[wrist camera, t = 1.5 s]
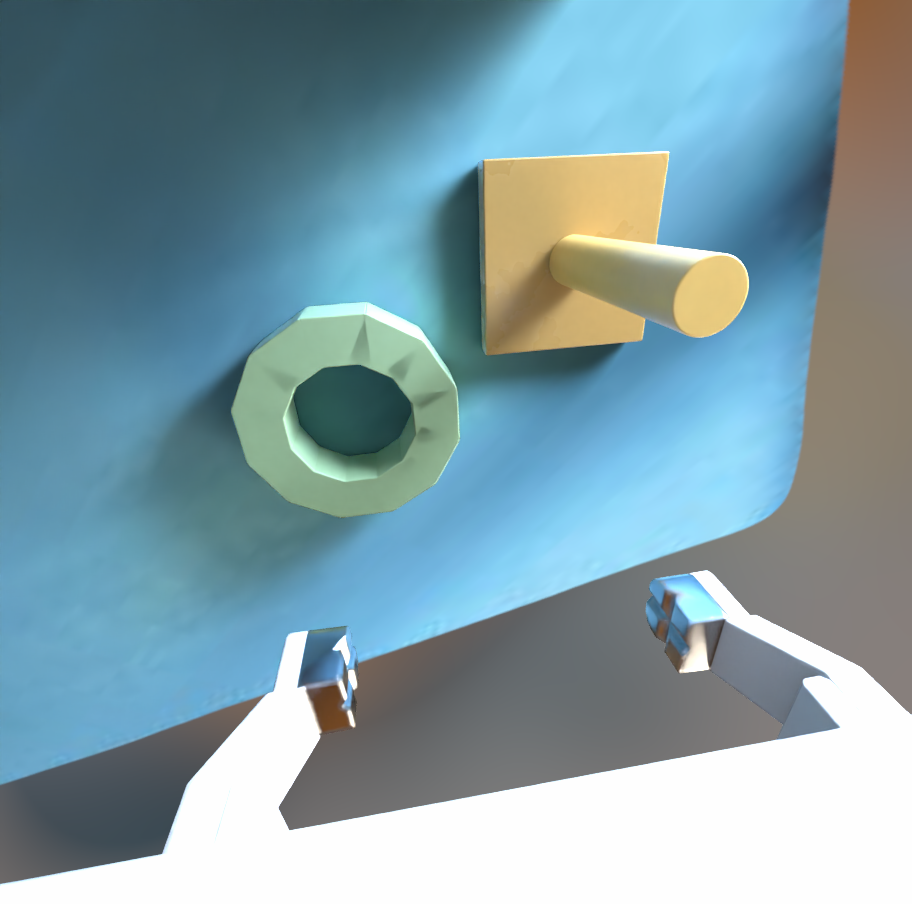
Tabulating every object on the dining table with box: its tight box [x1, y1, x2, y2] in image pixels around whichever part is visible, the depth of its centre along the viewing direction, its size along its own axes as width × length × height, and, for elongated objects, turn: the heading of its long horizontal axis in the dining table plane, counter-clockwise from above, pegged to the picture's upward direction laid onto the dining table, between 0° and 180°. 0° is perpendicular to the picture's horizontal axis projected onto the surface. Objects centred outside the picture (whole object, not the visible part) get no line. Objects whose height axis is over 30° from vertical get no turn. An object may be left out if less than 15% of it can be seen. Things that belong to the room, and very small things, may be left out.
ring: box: [231, 302, 460, 518], centre depth 25 cm, size 11×11×3 cm
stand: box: [478, 151, 749, 355], centre depth 19 cm, size 9×9×12 cm
